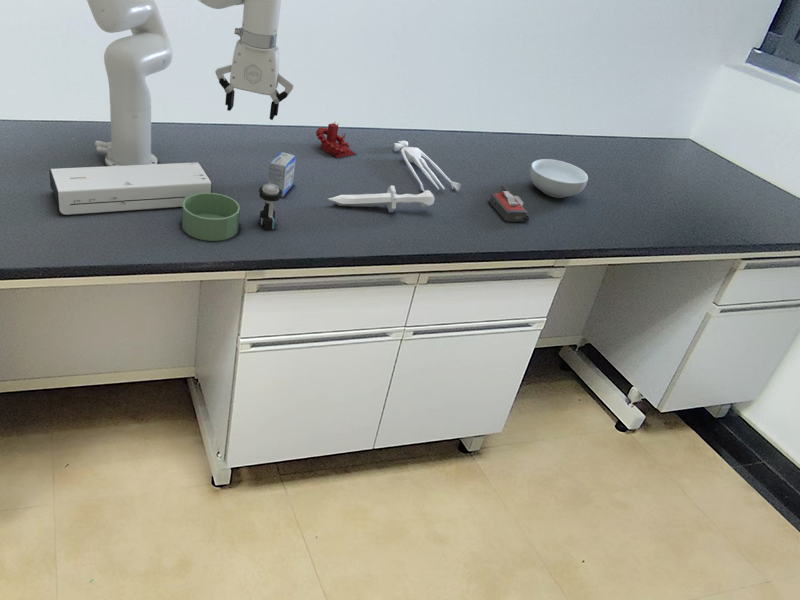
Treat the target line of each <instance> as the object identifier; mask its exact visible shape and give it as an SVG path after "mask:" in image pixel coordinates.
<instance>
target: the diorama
mask: <svg viewBox="0 0 800 600" xmlns="http://www.w3.org/2000/svg"><path fill="white" fill-rule="evenodd" d="M338 131H339V123H335V122H333V123H328V124H327V127H323V126H321V127H318V128H317V130H316V131H315V136H316V137H317V139H318V140H319V142H320V144H321V145H320V149H321V150H322V151H324V152H326V153H328V154H329V155H332V156H334V157H335V158H337V159H339V158H344V157H349V156H353V155H354V156H355V155H356V154H355V152H354V151H352V150H351V149H350V144H349V143H348V142H345V141H346V140H345V138H346V133H341V135H339V134H338ZM325 135H326V136H325Z"/></svg>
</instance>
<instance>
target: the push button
mask: <svg viewBox="0 0 800 600" xmlns="http://www.w3.org/2000/svg"><path fill="white" fill-rule="evenodd" d="M258 194H259V198H261V200H263V201H264V205H263V209H261V210H260V211H259V218H260V225H261V226H263V229H264V230H275V223H276V210H275V202H278V201H279V200H281V199H282V197H281V195H282V190H281V189H280V188H279V187H278V186H277V185H275V184H268V183H264V184H263V185H262V186H260V187H259V188H258Z"/></svg>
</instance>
